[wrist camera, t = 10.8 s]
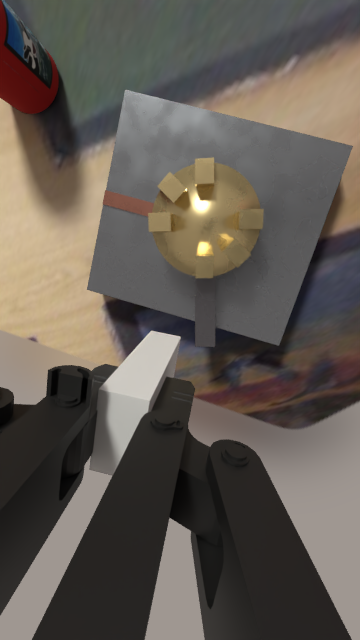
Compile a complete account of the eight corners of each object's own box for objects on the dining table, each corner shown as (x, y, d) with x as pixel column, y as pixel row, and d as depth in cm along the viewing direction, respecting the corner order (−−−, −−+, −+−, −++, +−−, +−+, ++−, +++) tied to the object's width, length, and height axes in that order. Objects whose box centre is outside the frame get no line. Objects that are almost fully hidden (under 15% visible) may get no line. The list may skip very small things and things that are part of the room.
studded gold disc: (155, 173, 30) (146, 161, 26) (259, 168, 29) (265, 154, 25) (161, 338, 34) (153, 350, 30) (252, 340, 32) (257, 352, 28)
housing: (336, 159, 32) (353, 145, 27) (270, 342, 37) (276, 353, 33) (136, 108, 33) (124, 88, 29) (99, 291, 38) (85, 296, 34)
